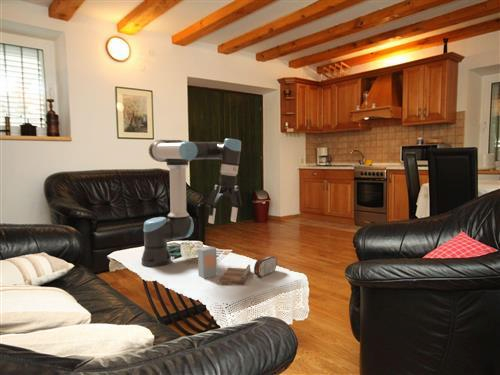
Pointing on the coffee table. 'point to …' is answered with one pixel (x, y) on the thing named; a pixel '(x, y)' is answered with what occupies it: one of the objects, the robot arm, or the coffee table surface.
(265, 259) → the tin
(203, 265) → the carton
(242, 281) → the price rail
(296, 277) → the coffee table surface
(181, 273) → the coffee table surface
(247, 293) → the coffee table surface
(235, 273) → the shelf board
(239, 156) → the robot arm
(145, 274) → the coffee table surface
